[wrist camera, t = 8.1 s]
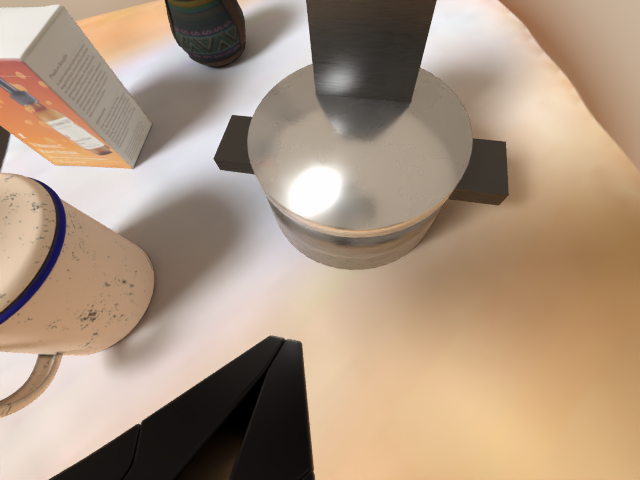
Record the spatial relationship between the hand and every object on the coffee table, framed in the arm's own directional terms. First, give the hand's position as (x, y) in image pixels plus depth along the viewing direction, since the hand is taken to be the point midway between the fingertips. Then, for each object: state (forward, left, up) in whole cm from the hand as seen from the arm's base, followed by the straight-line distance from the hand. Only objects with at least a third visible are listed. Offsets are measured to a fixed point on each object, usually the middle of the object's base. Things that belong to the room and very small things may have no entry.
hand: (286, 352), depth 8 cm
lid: (+10, -8, -7) cm, 15 cm away
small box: (+27, +9, -13) cm, 31 cm away
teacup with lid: (+11, +13, -13) cm, 21 cm away
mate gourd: (+33, -5, -13) cm, 36 cm away
